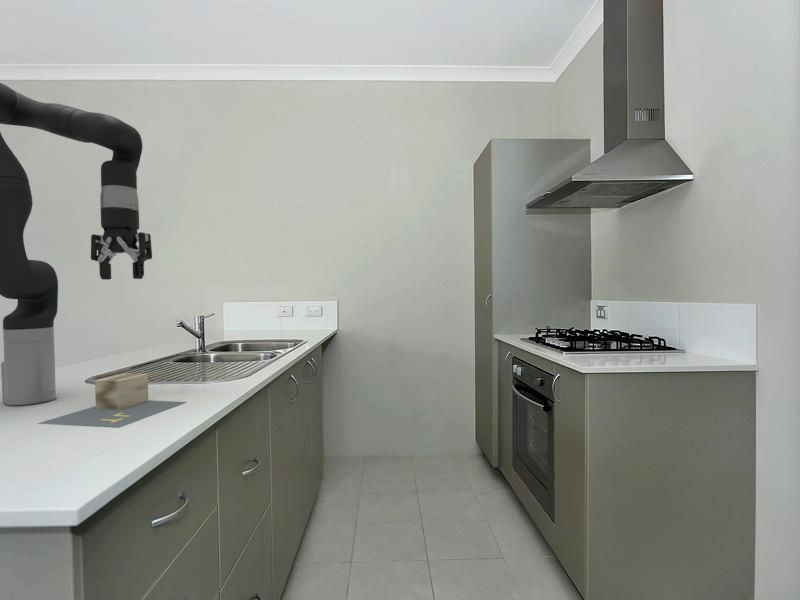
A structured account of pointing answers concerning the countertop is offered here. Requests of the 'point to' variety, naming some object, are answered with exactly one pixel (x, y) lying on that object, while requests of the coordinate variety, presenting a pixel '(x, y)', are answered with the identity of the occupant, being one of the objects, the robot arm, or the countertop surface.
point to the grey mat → (113, 415)
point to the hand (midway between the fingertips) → (122, 279)
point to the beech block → (121, 391)
